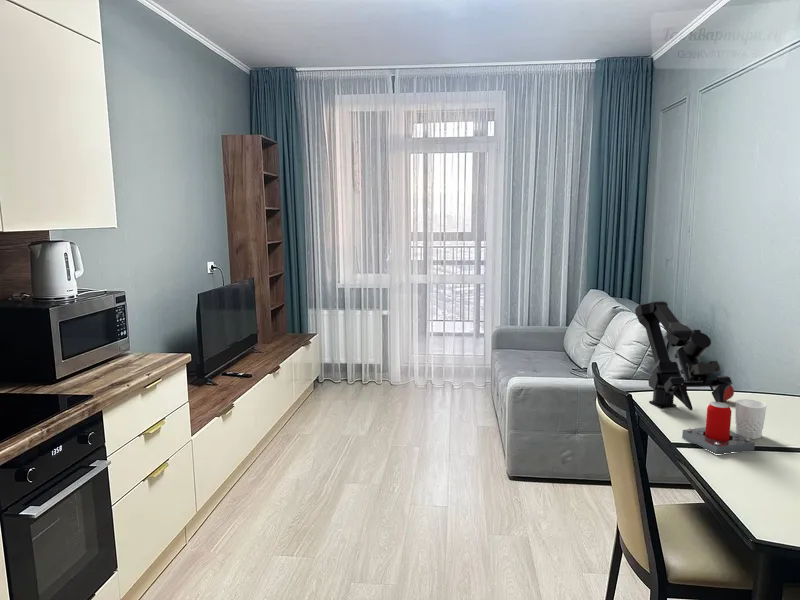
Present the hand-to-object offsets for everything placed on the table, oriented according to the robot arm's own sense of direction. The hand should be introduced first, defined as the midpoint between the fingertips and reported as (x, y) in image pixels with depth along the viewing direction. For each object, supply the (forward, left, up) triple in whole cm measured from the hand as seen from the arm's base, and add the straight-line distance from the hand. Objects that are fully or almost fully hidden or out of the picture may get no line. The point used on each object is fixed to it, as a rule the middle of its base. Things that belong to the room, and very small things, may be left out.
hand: (706, 409), depth 170 cm
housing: (+6, -2, -8) cm, 10 cm away
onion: (-24, +29, -8) cm, 39 cm away
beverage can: (+6, -1, -8) cm, 10 cm away
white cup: (+3, +13, -8) cm, 16 cm away
